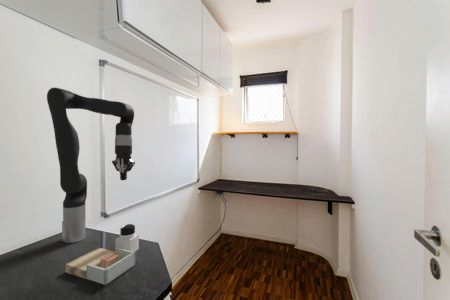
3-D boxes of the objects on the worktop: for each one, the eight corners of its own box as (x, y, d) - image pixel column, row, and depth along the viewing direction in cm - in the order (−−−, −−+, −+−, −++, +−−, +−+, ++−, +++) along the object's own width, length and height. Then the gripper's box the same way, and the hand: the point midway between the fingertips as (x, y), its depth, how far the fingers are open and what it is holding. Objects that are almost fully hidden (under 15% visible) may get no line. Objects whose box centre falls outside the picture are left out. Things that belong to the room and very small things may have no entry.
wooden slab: (65, 272, 79) (65, 264, 79) (99, 254, 92) (99, 247, 92) (85, 279, 75) (85, 270, 75) (118, 259, 88) (118, 252, 88)
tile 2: (104, 260, 78) (108, 261, 77) (115, 254, 82) (118, 255, 82) (104, 272, 78) (108, 273, 78) (115, 265, 82) (118, 266, 82)
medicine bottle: (139, 248, 97) (139, 223, 97) (130, 256, 90) (130, 229, 90) (124, 247, 98) (124, 222, 98) (115, 255, 91) (115, 228, 91)
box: (86, 278, 75) (86, 264, 75) (117, 259, 88) (118, 247, 88) (105, 285, 72) (105, 270, 72) (135, 264, 85) (135, 252, 84)
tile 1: (100, 258, 79) (104, 259, 78) (110, 253, 83) (114, 254, 83) (100, 270, 79) (104, 271, 79) (110, 264, 83) (114, 265, 83)
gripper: (106, 144, 101) (106, 180, 101) (128, 144, 96) (127, 182, 96) (119, 144, 108) (119, 178, 108) (140, 144, 103) (139, 179, 103)
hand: (123, 180), depth 102 cm, fingers closed
